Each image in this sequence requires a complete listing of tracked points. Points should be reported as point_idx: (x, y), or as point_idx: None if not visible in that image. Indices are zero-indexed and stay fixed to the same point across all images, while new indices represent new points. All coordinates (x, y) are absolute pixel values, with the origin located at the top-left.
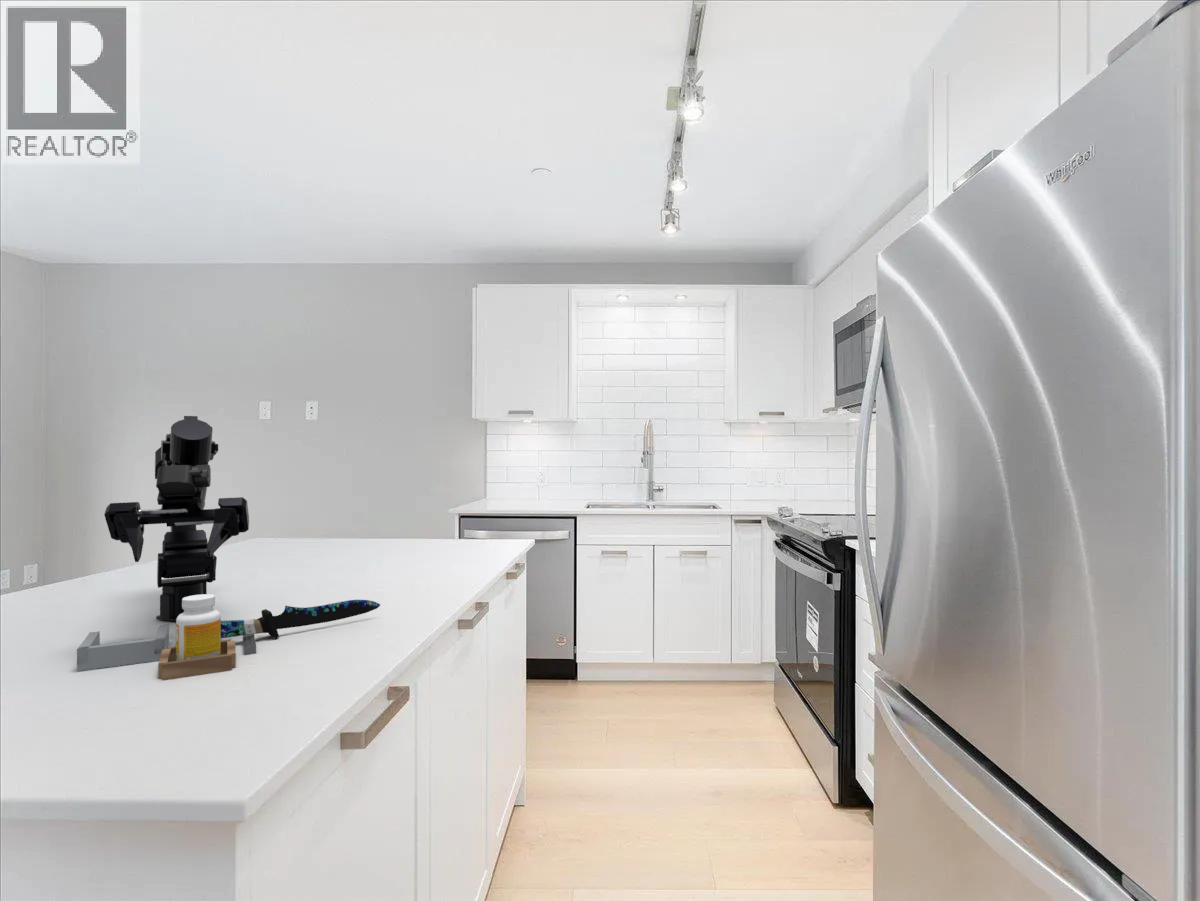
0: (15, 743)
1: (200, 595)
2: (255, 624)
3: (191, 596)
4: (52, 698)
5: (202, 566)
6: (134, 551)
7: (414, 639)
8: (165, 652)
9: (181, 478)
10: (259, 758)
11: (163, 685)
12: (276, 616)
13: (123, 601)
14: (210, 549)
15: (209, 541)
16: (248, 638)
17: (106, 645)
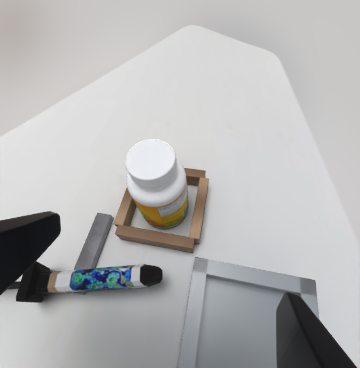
0: (296, 106)
1: (143, 169)
2: (60, 271)
3: (158, 168)
4: (299, 186)
5: None
6: (312, 316)
7: None
8: (197, 221)
9: None
10: (177, 41)
11: (205, 164)
12: (17, 282)
13: None
14: (41, 213)
15: (9, 226)
16: (84, 262)
17: (274, 278)
